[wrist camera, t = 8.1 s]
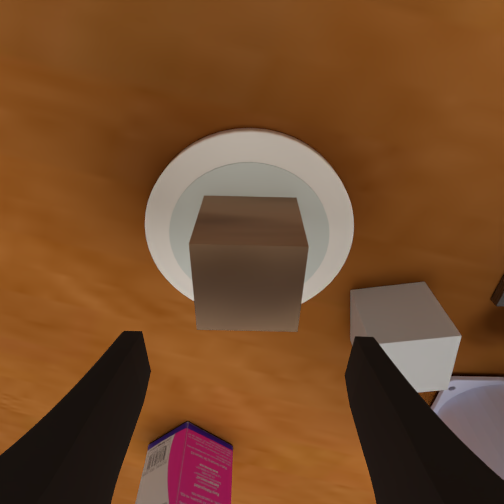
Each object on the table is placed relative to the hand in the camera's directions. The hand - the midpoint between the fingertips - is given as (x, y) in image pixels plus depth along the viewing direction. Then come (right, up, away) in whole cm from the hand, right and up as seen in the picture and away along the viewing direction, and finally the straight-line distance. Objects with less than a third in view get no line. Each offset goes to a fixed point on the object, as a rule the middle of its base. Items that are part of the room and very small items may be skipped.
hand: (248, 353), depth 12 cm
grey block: (+9, 0, +11) cm, 14 cm away
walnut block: (0, +4, +6) cm, 7 cm away
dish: (0, +5, +7) cm, 9 cm away
